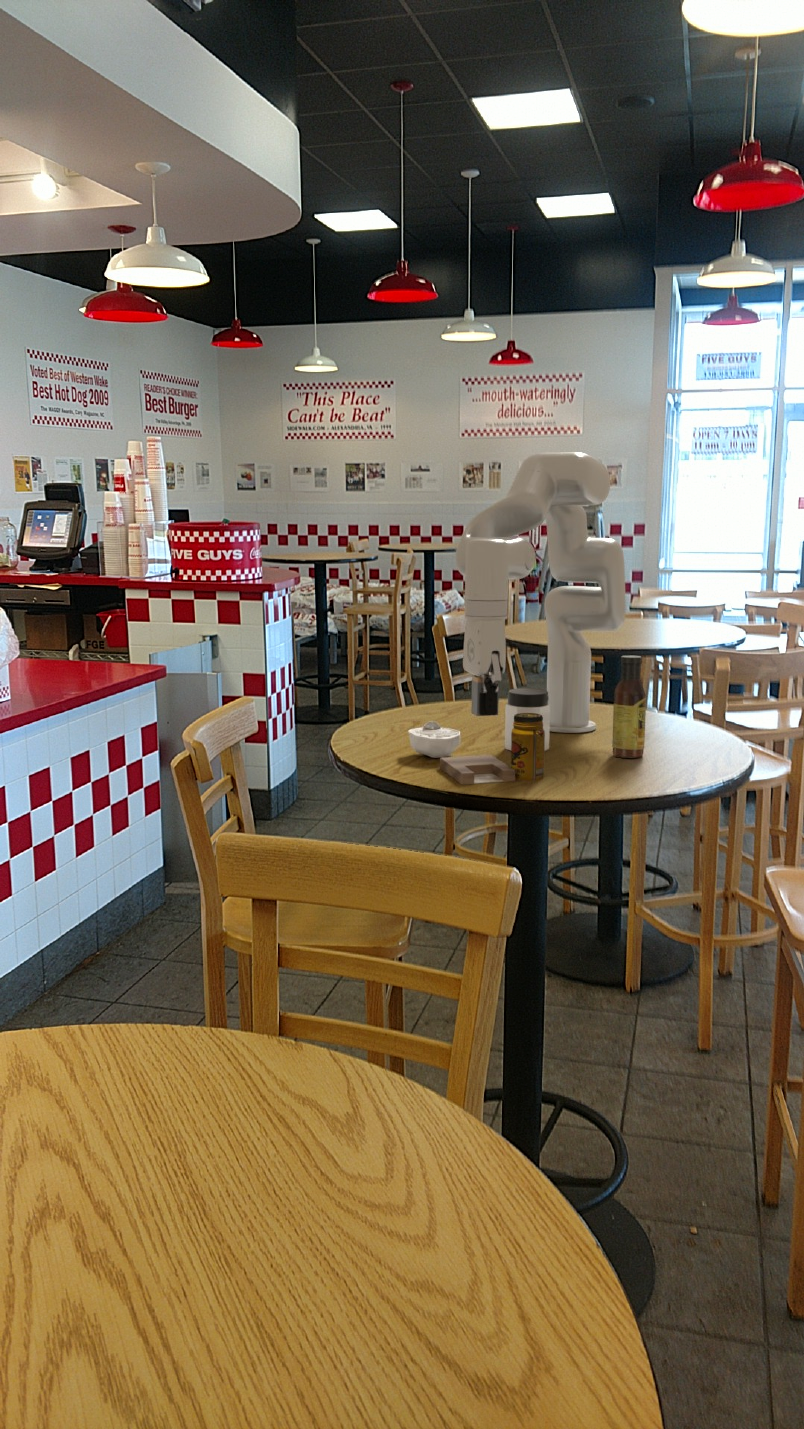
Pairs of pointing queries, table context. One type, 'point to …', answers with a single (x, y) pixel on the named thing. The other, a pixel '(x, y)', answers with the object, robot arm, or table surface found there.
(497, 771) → the notched board
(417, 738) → the cell model
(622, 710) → the sauce bottle
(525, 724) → the condiment
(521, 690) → the jar
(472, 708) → the grey and orange block
